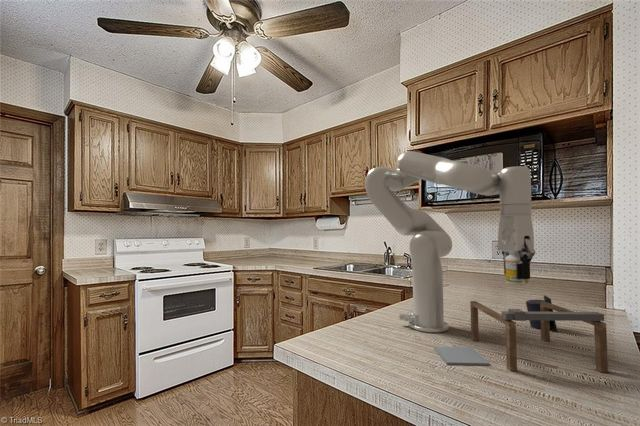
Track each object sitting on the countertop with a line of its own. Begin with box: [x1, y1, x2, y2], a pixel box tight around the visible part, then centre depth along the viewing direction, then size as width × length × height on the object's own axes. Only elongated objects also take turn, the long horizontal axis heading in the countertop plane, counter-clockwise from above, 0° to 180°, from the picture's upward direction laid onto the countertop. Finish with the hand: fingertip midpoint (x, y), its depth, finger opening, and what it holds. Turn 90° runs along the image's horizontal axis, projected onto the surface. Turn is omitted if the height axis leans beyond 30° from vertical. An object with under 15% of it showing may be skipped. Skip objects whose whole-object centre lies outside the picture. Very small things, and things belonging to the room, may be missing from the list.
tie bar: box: [500, 308, 605, 322], centre depth 75 cm, size 22×3×2 cm, turn 87°
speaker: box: [525, 294, 558, 333], centre depth 104 cm, size 8×6×10 cm
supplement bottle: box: [505, 250, 530, 286], centre depth 89 cm, size 5×5×10 cm
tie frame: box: [469, 300, 609, 374], centre depth 83 cm, size 22×21×11 cm
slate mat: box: [433, 346, 491, 366], centre depth 82 cm, size 10×10×1 cm
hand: (516, 276), depth 89 cm, fingers closed on supplement bottle, 5 cm apart
